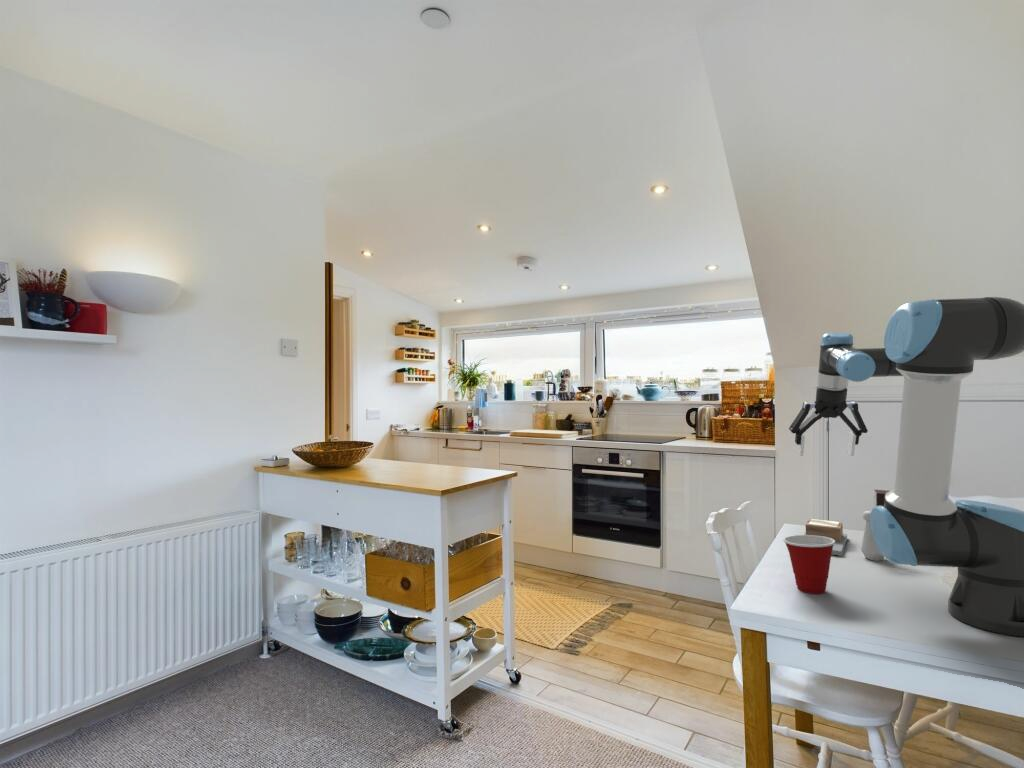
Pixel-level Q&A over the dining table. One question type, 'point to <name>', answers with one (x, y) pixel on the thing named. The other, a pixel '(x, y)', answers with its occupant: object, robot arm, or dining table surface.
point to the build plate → (839, 546)
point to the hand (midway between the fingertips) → (825, 454)
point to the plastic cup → (810, 561)
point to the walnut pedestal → (825, 529)
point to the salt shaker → (870, 541)
